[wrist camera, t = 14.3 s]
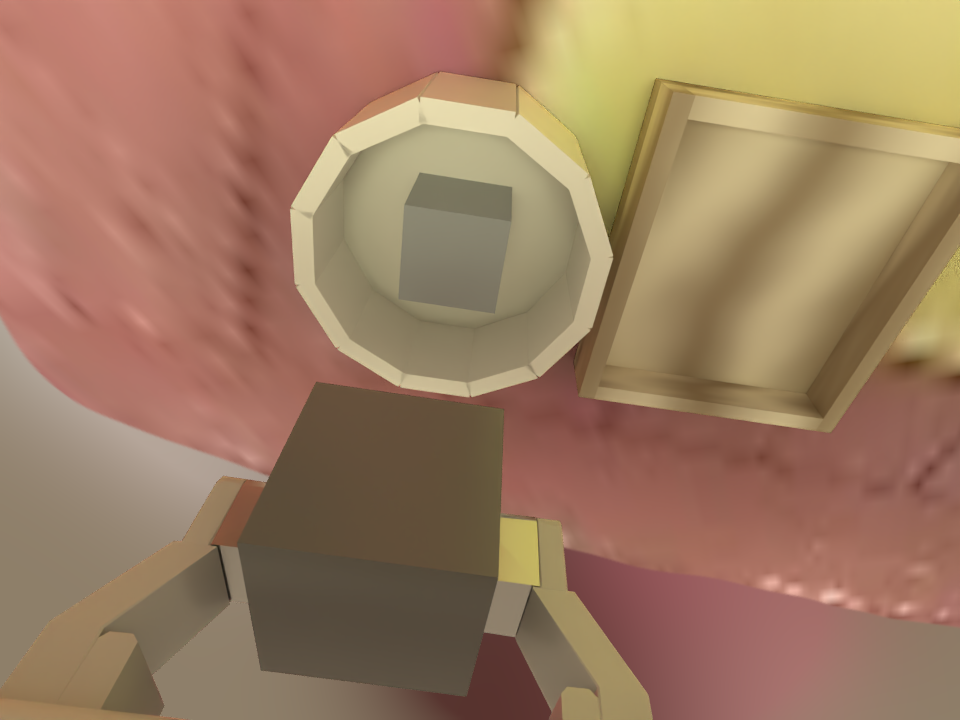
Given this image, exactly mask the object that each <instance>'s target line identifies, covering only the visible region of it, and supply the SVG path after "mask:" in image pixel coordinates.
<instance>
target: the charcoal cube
mask: <svg viewBox="0 0 960 720" xmlns="http://www.w3.org/2000/svg"><path fill="white" fill-rule="evenodd" d="M503 427H504V409H500V408H493V407H486V406H479V405H472V404H465V403H458V402H451V401H444V400H437V399H431V398H424V397H417V396H410V395H403V394H396V393H389V392H382V391H375V390H368V389H361V388H354V387H347V386H340V385H334V384H327V383H320V382H316V383H315V385H314V387H313V390H312V392H311V394H310V396H309V398H308V400H307V402H306V404H305V406H304V408H303V410H302V412H301V414H300V416H299V418H298V420H297V422H296V424H295V426H294V428H293V430H292V432H291V434H290V436H289V438H288V440H287V442H286V444H285V446H284V448H283V450H282V452H281V454H280V456H279V458H278V460H277V462H276V464H275V466H274V468H273V470H272V472H271V475H270V477H269V479H268V481H267V483H266V485H265V487H264V489H263V491H262V493H261V495H260V497H259V499H258V501H257V503H256V505H255V507H254V509H253V511H252V513H251V515H250V517H249V519H248V521H247V523H246V525H245V527H244V529H243V531H242V533H241V535H240V537H239V539H238V541H237V546H238V551H239V556H240V562H241V567H242V572H243V578H244V583H245V588H246V594H247V599H248V604H249V610H250V615H251V620H252V626H253V630H254V636H255V642H256V646H257V652H258V657H259V663H260V668H261V670H262V671H270V672H279V673H286V674H294V675H302V676H309V677H317V678H326V679H334V680H341V681H350V682H357V683H365V684H372V685H373V684H374V685H381V686H388V687H396V688H405V689H412V690H420V691H428V692H435V693H444V694H451V695H459V696H466V695H467V692H468V688H469V685H470V681H471V677H472V673H473V670H474V666H475V662H476V658H477V655H478V651H479V647H480V644H481V640H482V637H483V633H484V629H485V625H486V622H487V618H488V614H489V611H490V607H491V603H492V600H493V596H494V592H495V588H496V585H497V581H498V576H499V546H500V516H501V487H502V457H503Z"/></svg>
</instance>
